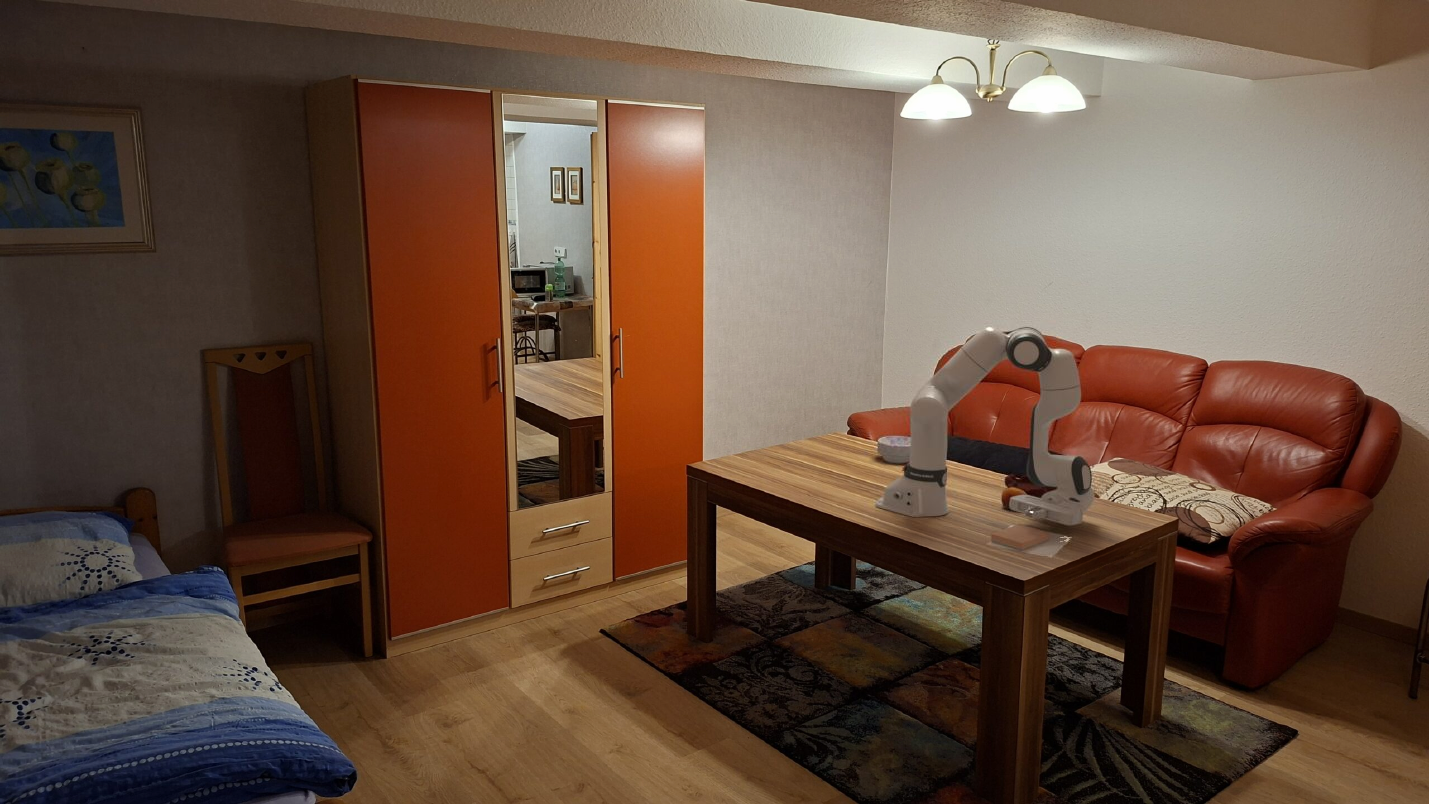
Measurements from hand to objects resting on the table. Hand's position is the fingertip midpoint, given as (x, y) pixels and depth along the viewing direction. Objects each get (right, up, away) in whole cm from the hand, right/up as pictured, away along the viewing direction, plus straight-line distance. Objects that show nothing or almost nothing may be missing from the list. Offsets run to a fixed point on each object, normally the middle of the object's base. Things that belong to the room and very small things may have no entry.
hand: (1029, 514), depth 271 cm
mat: (0, -8, 0) cm, 8 cm away
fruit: (+5, -2, +30) cm, 31 cm away
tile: (+3, -5, +3) cm, 7 cm away
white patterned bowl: (-21, +10, +88) cm, 91 cm away
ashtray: (+15, +1, +44) cm, 47 cm away
